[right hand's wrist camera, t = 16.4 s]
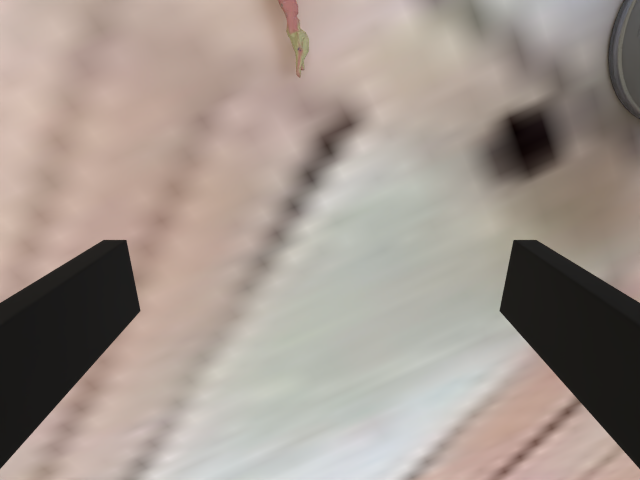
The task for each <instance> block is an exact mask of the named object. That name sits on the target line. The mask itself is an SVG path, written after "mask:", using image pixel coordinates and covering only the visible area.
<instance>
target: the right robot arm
mask: <svg viewBox="0 0 640 480" xmlns="http://www.w3.org/2000/svg"><path fill="white" fill-rule="evenodd" d="M609 70H610V77H611V81H612V84H613V87H614V90H615V92H616V94H617V96H618V98H619V100H620V101H621V102H622V104H623V105H624V106H625V107H626V109H627V110H628V111H629V112H631V113H632V114H633V115H634V116H636V117H638V118H639V119H640V0H624V3H623V5H622V7H621V9H620V11H619V14H618V16H617V19H616V21H615V25H614V28H613V31H612V36H611V41H610V48H609ZM139 312H140V306H139V301H138V296H137V291H136V286H135V281H134V276H133V271H132V266H131V261H130V256H129V251H128V246H127V241H126V240H103V241H101V242H100V243H98V244H96V245H95V246H93V247H92V248H90V249H88V250H87V251H85V252H83V253H82V254H80V255H78V256H77V257H75V258H73V259H72V260H70V261H69V262H67V263H65V264H64V265H62V266H60V267H59V268H57V269H55V270H54V271H52V272H50V273H49V274H47V275H46V276H44V277H42V278H41V279H39V280H37V281H36V282H34V283H32V284H31V285H29V286H27V287H26V288H24V289H23V290H21V291H19V292H18V293H16V294H14V295H13V296H11V297H9V298H8V299H6V300H4V301H3V302H1V303H0V469H1V467H2V466H3V465H4V464H5V463H6V462H7V461H8V460H9V458H10V457H11V456H12V455H13V454H14V453H15V452H16V451H17V449H18V448H19V447H20V446H21V445H22V444H23V443H24V442H25V440H26V439H27V438H28V437H29V436H30V435H31V434H32V433H33V431H34V430H35V429H36V428H37V427H38V426H39V425H40V424H41V422H42V421H43V420H44V419H45V418H46V417H47V416H48V414H49V413H50V412H51V411H52V410H53V409H54V408H55V407H56V405H57V404H58V403H59V402H60V401H61V400H62V399H63V398H64V396H65V395H66V394H67V393H68V392H69V391H70V390H71V389H72V387H73V386H74V385H75V384H76V383H77V382H78V381H79V380H80V378H81V377H82V376H83V375H84V374H85V373H86V372H87V371H88V369H89V368H90V367H91V366H92V365H93V364H94V363H95V362H96V360H97V359H98V358H99V357H100V356H101V355H102V354H103V353H104V351H105V350H106V349H107V348H108V347H109V346H110V345H111V343H112V342H113V341H114V340H115V339H116V338H117V337H118V336H119V334H120V333H121V332H122V331H123V330H124V329H125V328H126V327H127V325H128V324H129V323H130V322H131V321H132V320H133V319H134V318H135V316H136V315H137V314H138V313H139ZM500 312H501V313H502V314H503V315H504V316H505V318H506V319H507V320H508V321H509V322H510V323H511V324H512V325H513V327H514V328H515V329H516V330H517V331H518V332H519V333H520V334H521V336H522V337H523V338H524V339H525V340H526V341H527V342H528V343H529V345H530V346H531V347H532V348H533V349H534V350H535V351H536V353H537V354H538V355H539V356H540V357H541V358H542V359H543V360H544V362H545V363H546V364H547V365H548V366H549V367H550V368H551V369H552V371H553V372H554V373H555V374H556V375H557V376H558V377H559V378H560V380H561V381H562V382H563V383H564V384H565V385H566V386H567V387H568V389H569V390H570V391H571V392H572V393H573V394H574V395H575V396H576V398H577V399H578V400H579V401H580V402H581V403H582V404H583V405H584V407H585V408H586V409H587V410H588V411H589V412H590V413H591V414H592V416H593V417H594V418H595V419H596V420H597V421H598V422H599V424H600V425H601V426H602V427H603V428H604V429H605V430H606V431H607V433H608V434H609V435H610V436H611V437H612V438H613V439H614V440H615V442H616V443H617V444H618V445H619V446H620V447H621V448H622V449H623V451H624V452H625V453H626V454H627V455H628V456H629V457H630V458H631V460H632V461H633V462H634V463H635V464H636V465H637V466H638V467H639V469H640V303H639V302H637V301H636V300H634V299H632V298H631V297H629V296H627V295H626V294H624V293H622V292H621V291H619V290H617V289H616V288H614V287H613V286H611V285H609V284H608V283H606V282H604V281H603V280H601V279H599V278H598V277H596V276H594V275H593V274H591V273H590V272H588V271H586V270H585V269H583V268H581V267H580V266H578V265H576V264H575V263H573V262H571V261H570V260H568V259H567V258H565V257H563V256H562V255H560V254H558V253H557V252H555V251H553V250H552V249H550V248H548V247H547V246H545V245H544V244H542V243H540V242H539V241H537V240H514V241H513V246H512V251H511V256H510V261H509V266H508V271H507V276H506V281H505V286H504V291H503V296H502V301H501V306H500Z"/></svg>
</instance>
